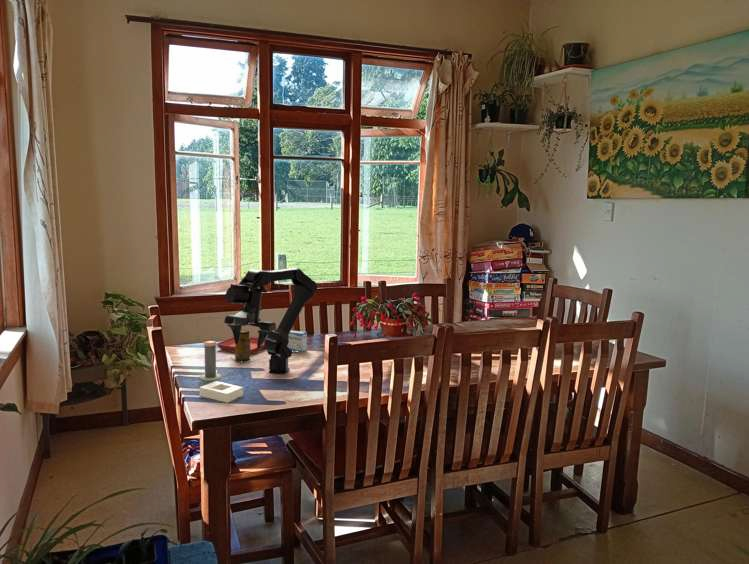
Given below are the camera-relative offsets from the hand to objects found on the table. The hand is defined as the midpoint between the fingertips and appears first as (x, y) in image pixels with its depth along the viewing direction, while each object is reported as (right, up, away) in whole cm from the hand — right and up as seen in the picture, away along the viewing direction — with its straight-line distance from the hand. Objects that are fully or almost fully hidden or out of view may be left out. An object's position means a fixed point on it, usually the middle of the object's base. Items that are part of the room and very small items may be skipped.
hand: (247, 346), depth 217 cm
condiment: (-7, -9, +27) cm, 29 cm away
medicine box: (+12, -7, +43) cm, 45 cm away
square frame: (-5, -15, -16) cm, 23 cm away
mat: (-14, -12, +3) cm, 19 cm away
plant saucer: (-11, -6, +44) cm, 46 cm away
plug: (-14, -12, +3) cm, 19 cm away
